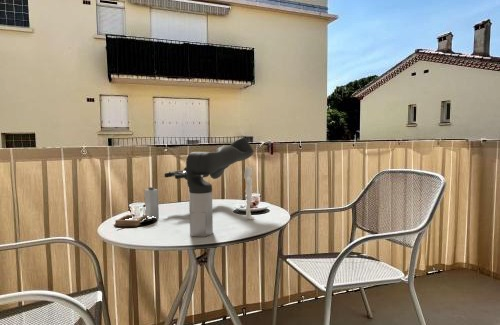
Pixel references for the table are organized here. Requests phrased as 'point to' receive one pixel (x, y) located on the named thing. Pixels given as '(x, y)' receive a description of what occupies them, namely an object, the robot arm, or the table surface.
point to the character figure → (248, 190)
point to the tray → (129, 221)
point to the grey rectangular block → (151, 202)
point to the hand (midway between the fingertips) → (170, 176)
